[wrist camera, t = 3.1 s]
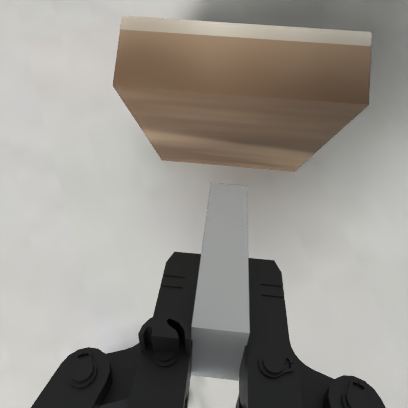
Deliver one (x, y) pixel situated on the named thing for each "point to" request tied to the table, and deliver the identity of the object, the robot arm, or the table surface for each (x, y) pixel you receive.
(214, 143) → the walnut tile
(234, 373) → the robot arm
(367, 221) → the table surface
